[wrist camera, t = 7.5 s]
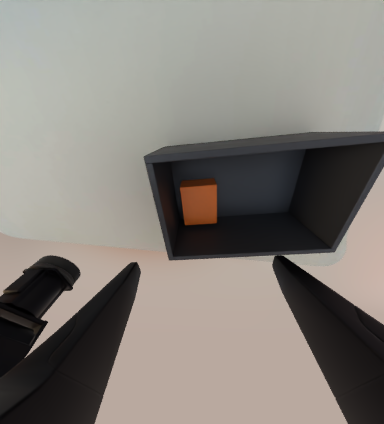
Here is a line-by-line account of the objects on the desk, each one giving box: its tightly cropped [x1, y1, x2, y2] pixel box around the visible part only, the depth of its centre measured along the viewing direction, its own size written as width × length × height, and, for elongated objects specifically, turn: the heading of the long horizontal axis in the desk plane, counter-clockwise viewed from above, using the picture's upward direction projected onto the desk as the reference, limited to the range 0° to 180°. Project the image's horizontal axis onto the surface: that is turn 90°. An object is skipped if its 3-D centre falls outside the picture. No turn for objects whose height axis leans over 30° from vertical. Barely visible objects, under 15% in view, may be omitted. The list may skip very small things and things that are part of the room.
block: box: [180, 178, 217, 225], centre depth 17 cm, size 5×4×2 cm
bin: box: [144, 132, 384, 260], centre depth 14 cm, size 10×16×8 cm, turn 95°
